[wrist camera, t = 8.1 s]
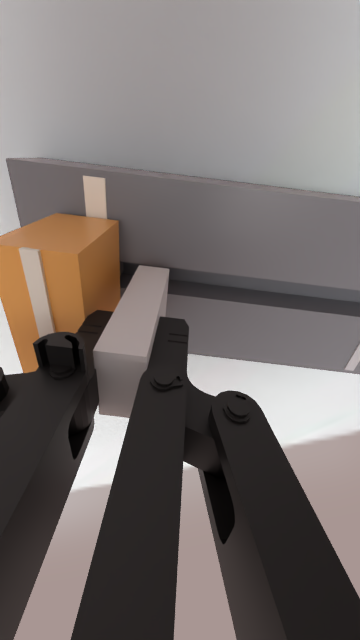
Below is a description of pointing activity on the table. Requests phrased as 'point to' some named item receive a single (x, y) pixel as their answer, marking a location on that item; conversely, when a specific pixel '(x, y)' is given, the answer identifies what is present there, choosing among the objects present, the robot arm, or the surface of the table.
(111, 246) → the fader tab
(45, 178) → the slider console
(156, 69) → the table surface
